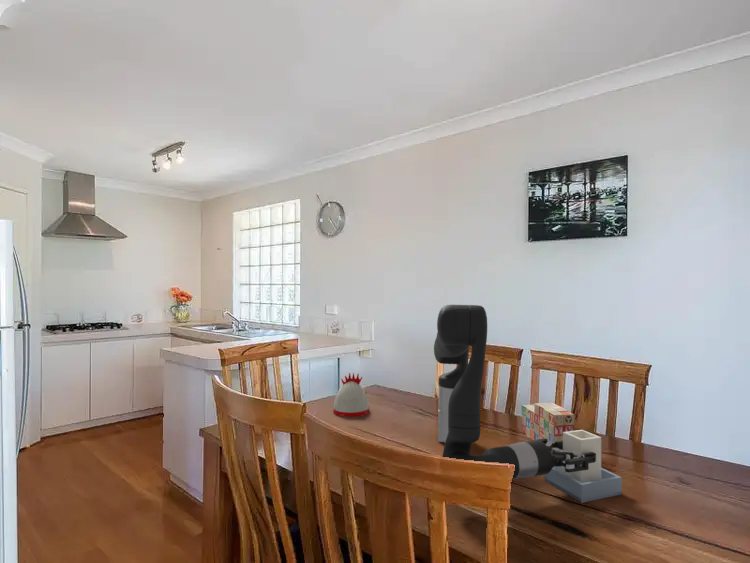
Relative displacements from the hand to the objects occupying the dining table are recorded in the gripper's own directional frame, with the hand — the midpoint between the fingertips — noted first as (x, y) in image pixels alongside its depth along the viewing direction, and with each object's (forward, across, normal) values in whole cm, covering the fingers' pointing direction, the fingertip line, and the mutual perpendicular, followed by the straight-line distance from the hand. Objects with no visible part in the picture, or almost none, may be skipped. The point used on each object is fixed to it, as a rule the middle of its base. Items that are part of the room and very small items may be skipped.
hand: (580, 450), depth 109 cm
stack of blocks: (+13, +27, +9) cm, 32 cm away
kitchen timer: (-33, +81, +9) cm, 88 cm away
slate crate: (0, 0, +9) cm, 9 cm away
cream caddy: (0, 0, +8) cm, 8 cm away
